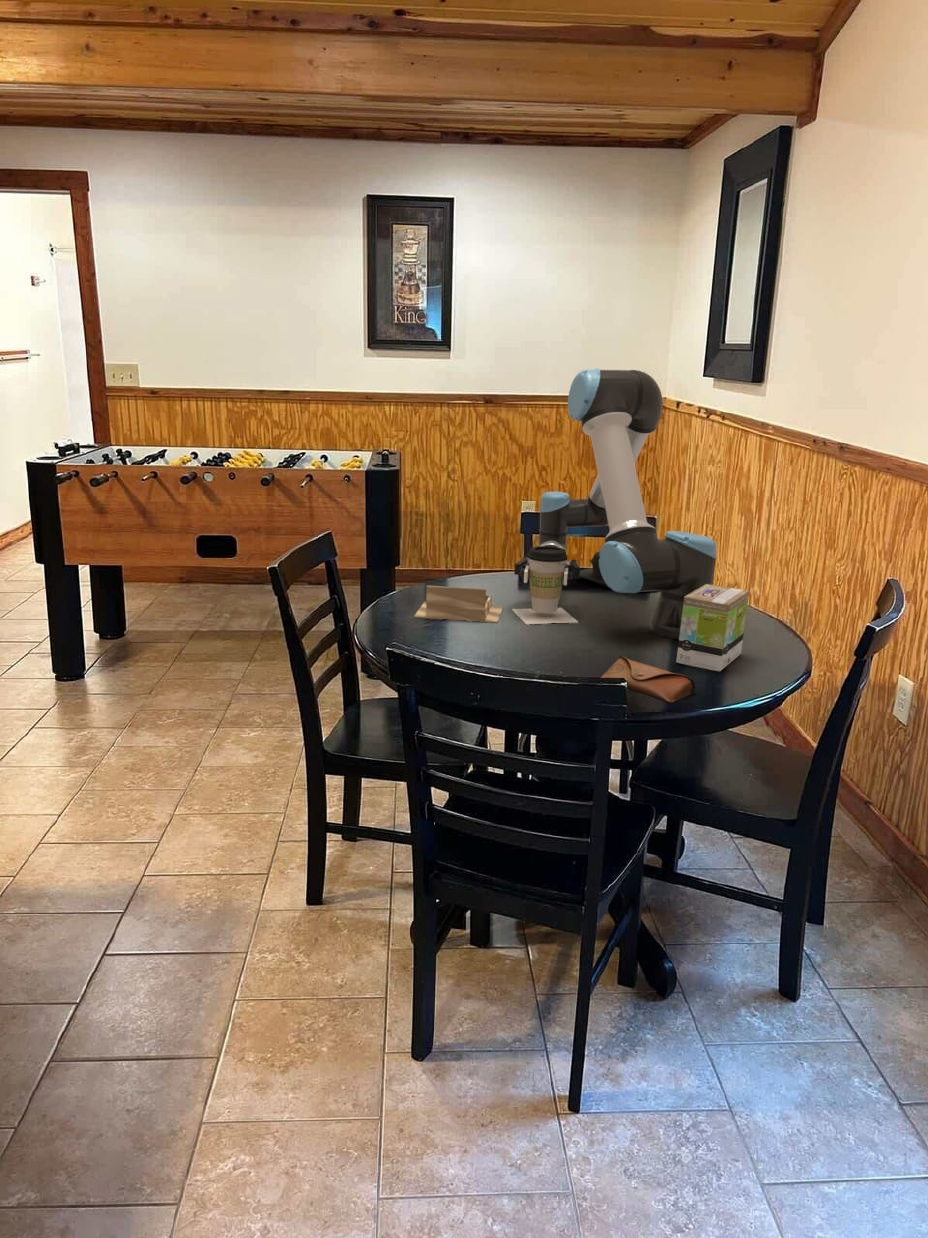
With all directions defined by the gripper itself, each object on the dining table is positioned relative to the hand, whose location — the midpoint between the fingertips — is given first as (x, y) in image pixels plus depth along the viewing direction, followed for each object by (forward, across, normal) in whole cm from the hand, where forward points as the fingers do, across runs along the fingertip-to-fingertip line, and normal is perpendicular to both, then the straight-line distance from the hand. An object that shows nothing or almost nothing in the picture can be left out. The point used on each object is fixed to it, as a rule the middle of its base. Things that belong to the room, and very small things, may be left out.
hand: (545, 578), depth 219 cm
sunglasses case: (+41, -22, -11) cm, 48 cm away
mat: (-4, 0, -11) cm, 12 cm away
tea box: (+21, -37, -11) cm, 43 cm away
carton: (-5, +21, -11) cm, 24 cm away
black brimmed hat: (-43, -19, -11) cm, 49 cm away
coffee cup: (-5, 0, -9) cm, 10 cm away
